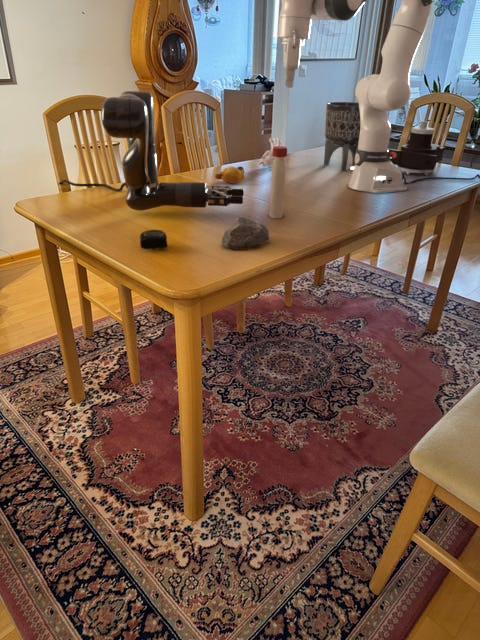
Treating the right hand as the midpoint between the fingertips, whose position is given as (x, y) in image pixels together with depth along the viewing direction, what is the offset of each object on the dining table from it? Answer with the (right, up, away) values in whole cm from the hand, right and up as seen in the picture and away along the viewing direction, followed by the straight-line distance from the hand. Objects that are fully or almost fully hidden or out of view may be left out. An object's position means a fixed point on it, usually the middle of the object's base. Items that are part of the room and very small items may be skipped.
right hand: (288, 86), depth 133 cm
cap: (-3, -18, 0) cm, 18 cm away
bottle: (-3, -36, +10) cm, 37 cm away
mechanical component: (+67, 0, +74) cm, 100 cm away
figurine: (-1, +1, +73) cm, 73 cm away
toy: (-17, -13, +49) cm, 54 cm away
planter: (+33, +3, +77) cm, 84 cm away
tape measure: (-36, -50, -15) cm, 64 cm away
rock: (-12, -48, -12) cm, 51 cm away
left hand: (-13, -30, +7) cm, 34 cm away
